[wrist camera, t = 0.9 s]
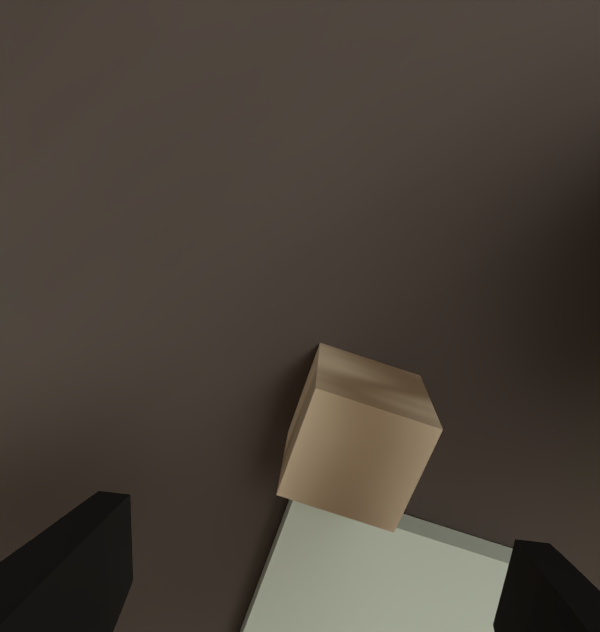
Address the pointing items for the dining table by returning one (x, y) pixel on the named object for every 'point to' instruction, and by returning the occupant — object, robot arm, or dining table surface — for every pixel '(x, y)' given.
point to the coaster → (375, 577)
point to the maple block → (358, 439)
